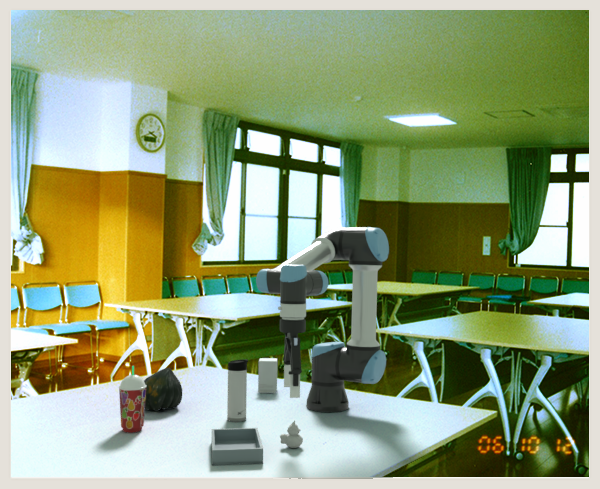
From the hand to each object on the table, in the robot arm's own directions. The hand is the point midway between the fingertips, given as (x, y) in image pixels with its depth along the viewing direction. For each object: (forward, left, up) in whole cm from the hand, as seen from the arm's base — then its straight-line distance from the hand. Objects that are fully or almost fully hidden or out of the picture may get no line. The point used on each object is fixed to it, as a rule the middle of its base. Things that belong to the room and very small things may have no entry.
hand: (291, 392), depth 186 cm
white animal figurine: (0, 0, -16) cm, 16 cm away
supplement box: (0, -71, -16) cm, 73 cm away
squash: (+40, -48, -16) cm, 65 cm away
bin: (+16, +3, -16) cm, 23 cm away
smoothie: (+47, -22, -16) cm, 54 cm away
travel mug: (+14, -31, -16) cm, 38 cm away
